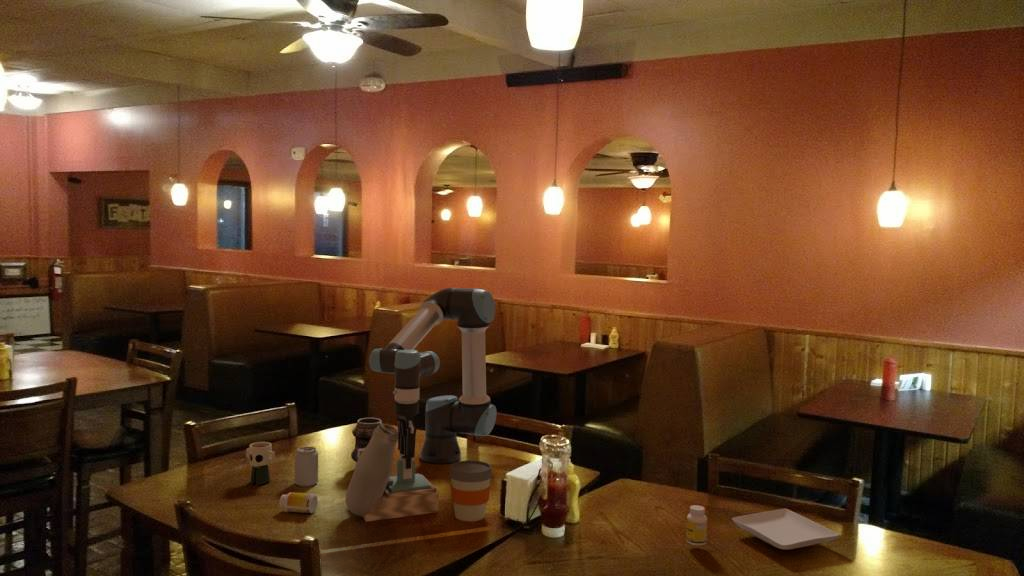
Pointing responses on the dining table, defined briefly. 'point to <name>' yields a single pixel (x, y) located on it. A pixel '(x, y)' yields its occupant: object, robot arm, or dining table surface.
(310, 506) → the supplement bottle
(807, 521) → the salad plate
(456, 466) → the reusable coffee cup
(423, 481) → the cover
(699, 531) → the supplement bottle
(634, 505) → the dining table surface
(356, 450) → the apothecary jar
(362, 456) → the brown rounded cylinder
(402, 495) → the latch box
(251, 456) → the character mug
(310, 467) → the can
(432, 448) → the robot arm
